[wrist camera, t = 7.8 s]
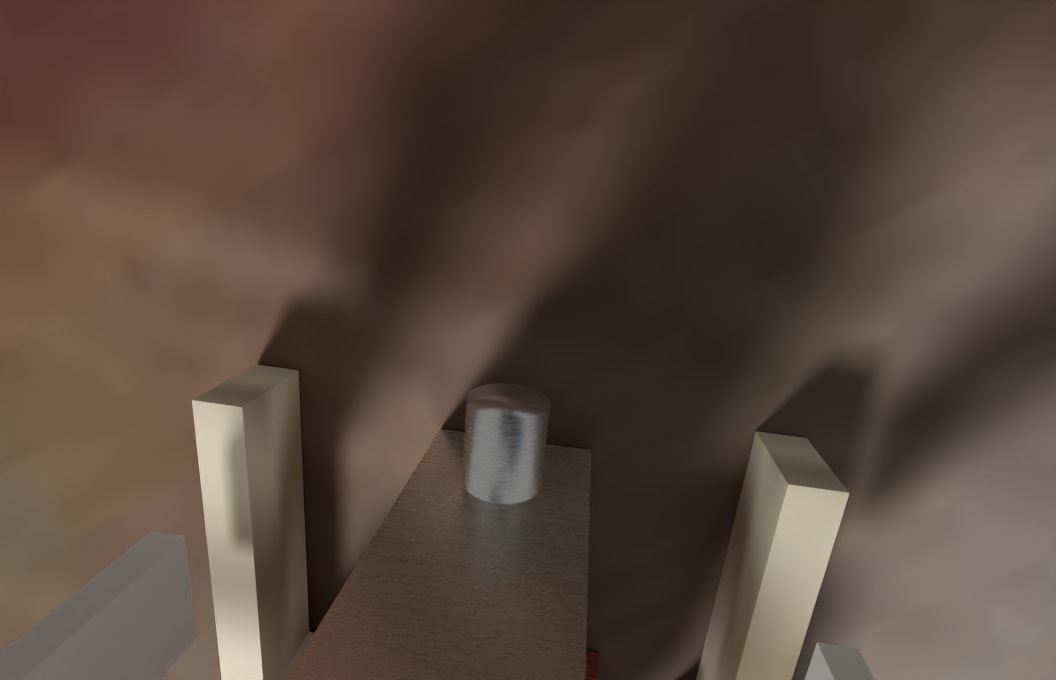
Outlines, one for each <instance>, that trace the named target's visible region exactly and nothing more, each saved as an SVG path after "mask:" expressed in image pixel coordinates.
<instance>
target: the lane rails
mask: <svg viewBox="0 0 1056 680" xmlns="http://www.w3.org/2000/svg"><path fill="white" fill-rule="evenodd" d="M192 404H193V414H194V423H195V432H196V442H197V451H198V461H199V470H200V479H201V489H202V498H203V508H204V517H205V526H206V536H207V545H208V555H209V564H210V573H211V583H212V592H213V602H214V611H215V620H216V630H217V639H218V648H219V658H220V667H221V677H222V680H279V679H280V677H281V676H282V674H283V673H284V671H285V669H286V668H287V666H288V665H289V663H290V661H291V660H292V658H293V657H294V655H295V653H296V652H297V650H298V649H299V647H300V646H301V644H302V642H303V641H304V639H305V638H306V636H307V634H308V633H309V613H308V589H307V565H306V540H305V516H304V491H303V467H302V443H301V418H300V394H299V370H293V369H286V368H278V367H271V366H263V365H254V366H252V367H250V368H249V369H247V370H245V371H243V372H242V373H240V374H238V375H236V376H234V377H233V378H231V379H229V380H227V381H225V382H224V383H222V384H220V385H218V386H216V387H215V388H213V389H211V390H209V391H208V392H206V393H204V394H202V395H200V396H199V397H197V398H195V399H193V400H192ZM848 497H849V492H848V490H847V489H846V488H845V486H844V485H843V484H842V483H841V481H840V480H839V479H838V478H837V476H836V475H835V474H834V472H833V471H832V470H831V469H830V467H829V466H828V465H827V464H826V462H825V461H824V460H823V459H822V457H821V456H820V455H819V453H818V452H817V451H816V450H815V448H814V447H813V446H812V445H811V443H810V442H809V441H808V439H807V438H803V437H795V436H788V435H780V434H773V433H765V432H758V431H756V432H755V436H754V441H753V445H752V449H751V453H750V457H749V461H748V465H747V470H746V474H745V478H744V482H743V486H742V490H741V495H740V499H739V503H738V507H737V511H736V515H735V519H734V524H733V528H732V532H731V536H730V540H729V544H728V549H727V553H726V557H725V561H724V565H723V569H722V574H721V578H720V582H719V586H718V590H717V594H716V598H715V603H714V607H713V611H712V615H711V619H710V623H709V628H708V632H707V636H706V640H705V644H704V648H703V652H702V657H701V661H700V665H699V669H698V673H697V677H696V680H792V677H793V674H794V671H795V667H796V664H797V661H798V658H799V654H800V651H801V648H802V645H803V642H804V638H805V635H806V632H807V629H808V625H809V622H810V619H811V616H812V613H813V609H814V606H815V603H816V600H817V596H818V593H819V590H820V587H821V584H822V580H823V577H824V574H825V571H826V568H827V564H828V561H829V558H830V555H831V551H832V548H833V545H834V542H835V539H836V535H837V532H838V529H839V526H840V522H841V519H842V516H843V513H844V510H845V506H846V503H847V500H848Z"/></svg>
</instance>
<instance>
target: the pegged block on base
mask: <svg viewBox="0 0 1056 680" xmlns="http://www.w3.org/2000/svg"><path fill="white" fill-rule="evenodd" d="M549 412H550V400H549V398H548V397H547V396H546V395H545V394H543V393H542V392H540V391H538V390H536V389H533V388H530V387H527V386H523V385H517V384H509V383H495V384H487V385H483V386H479V387H477V388H474V389H473V390H471V391H470V392H469V393H468V395H467V405H466V421H465V432H459V431H452V430H444V429H440V430H439V432H438V433H437V435H436V437H435V438H434V440H433V441H432V443H431V445H430V446H429V448H428V450H427V451H426V453H425V454H424V456H423V458H422V459H421V461H420V462H419V464H418V466H417V467H416V469H415V471H414V472H413V474H412V475H411V477H410V479H409V480H408V482H407V484H406V485H405V487H404V488H403V490H402V492H401V493H400V495H399V496H398V498H397V500H396V501H395V503H394V505H393V506H392V508H391V509H390V511H389V513H388V514H387V516H386V518H385V519H384V521H383V522H382V524H381V526H380V527H379V529H378V531H377V532H376V534H375V535H374V537H373V539H372V540H371V542H370V543H369V545H368V547H367V548H366V550H365V552H364V553H363V555H362V556H361V558H360V560H359V561H358V563H357V565H356V566H355V568H354V569H353V571H352V573H351V574H350V576H349V578H348V579H347V581H346V582H345V584H344V586H343V587H342V589H341V590H340V592H339V594H338V595H337V597H336V599H335V600H334V602H333V603H332V605H331V607H330V608H329V610H328V612H327V613H326V615H325V616H324V618H323V620H322V621H321V623H320V624H319V626H318V628H317V629H316V631H315V633H314V634H313V636H312V637H311V639H310V641H309V642H308V644H307V646H306V647H305V649H304V650H303V652H302V654H301V655H300V657H299V659H298V660H297V662H296V663H295V665H294V667H293V668H292V670H291V671H290V673H289V675H288V676H287V678H286V680H598V652H594V651H589V650H586V639H587V598H588V558H589V517H590V477H591V450H587V449H580V448H573V447H566V446H559V445H551V444H546V439H547V430H548V421H549Z"/></svg>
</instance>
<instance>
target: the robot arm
mask: <svg viewBox="0 0 1056 680" xmlns="http://www.w3.org/2000/svg"><path fill="white" fill-rule="evenodd" d="M196 637H197V630H196V622H195V614H194V606H193V598H192V590H191V582H190V574H189V566H188V558H187V551H186V543H185V536H180V535H174V534H168V533H162V532H156V531H151V532H150V533H148V534H147V535H146V536H145V537H143V538H142V539H141V540H140V541H138V542H137V543H136V544H135V545H133V546H132V547H131V548H130V549H128V550H127V551H126V552H125V553H123V554H122V555H121V556H120V557H119V558H117V559H116V560H115V561H114V562H112V563H111V564H110V565H109V566H107V567H106V568H105V569H104V570H102V571H101V572H100V573H99V574H97V575H96V576H95V577H94V578H92V579H91V580H90V581H89V582H87V583H86V584H85V585H84V586H82V587H81V588H80V589H79V590H77V591H76V592H75V593H74V594H73V595H71V596H70V597H69V598H68V599H66V600H65V601H64V602H63V603H61V604H60V605H59V606H58V607H56V608H55V609H54V610H53V611H51V612H50V613H49V614H48V615H46V616H45V617H44V618H43V619H41V620H40V621H39V622H38V623H36V624H35V625H34V626H33V627H31V628H30V629H29V630H28V631H27V632H25V633H24V634H23V635H22V636H20V637H19V638H18V639H17V640H15V641H14V642H13V643H12V644H10V645H9V646H8V647H7V648H5V649H4V650H3V651H2V652H0V680H160V679H161V678H162V676H163V675H164V674H165V673H166V672H167V671H168V669H169V668H170V667H171V666H172V665H173V664H174V663H175V661H176V660H177V659H178V658H179V657H180V656H181V654H182V653H183V652H184V651H185V650H186V649H187V647H188V646H189V645H190V644H191V643H192V642H193V641H194V639H195V638H196ZM805 680H875V679H874V677H873V675H872V673H871V671H870V669H869V667H868V666H867V664H866V662H865V660H864V658H863V656H862V655H861V653H860V651H859V649H856V648H850V647H844V646H838V645H832V644H826V643H820V642H817V644H816V647H815V650H814V653H813V656H812V659H811V662H810V665H809V668H808V671H807V674H806V677H805Z"/></svg>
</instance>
